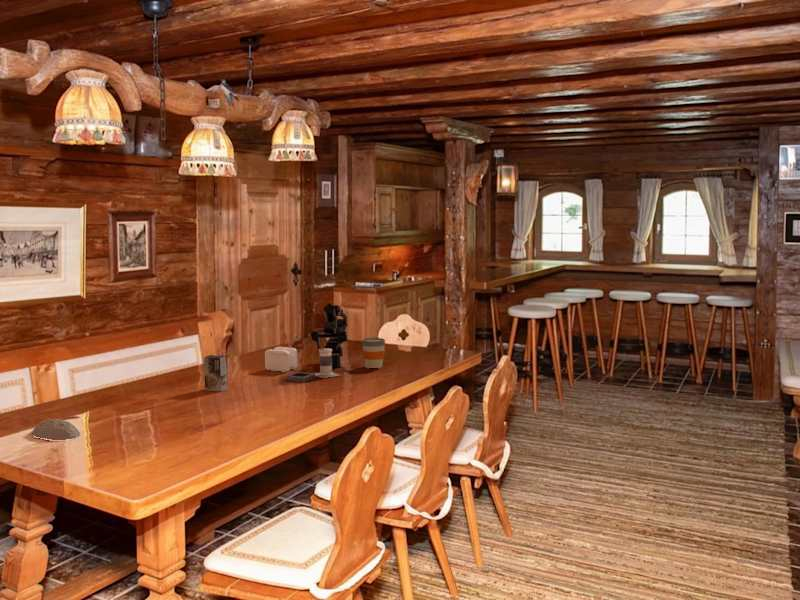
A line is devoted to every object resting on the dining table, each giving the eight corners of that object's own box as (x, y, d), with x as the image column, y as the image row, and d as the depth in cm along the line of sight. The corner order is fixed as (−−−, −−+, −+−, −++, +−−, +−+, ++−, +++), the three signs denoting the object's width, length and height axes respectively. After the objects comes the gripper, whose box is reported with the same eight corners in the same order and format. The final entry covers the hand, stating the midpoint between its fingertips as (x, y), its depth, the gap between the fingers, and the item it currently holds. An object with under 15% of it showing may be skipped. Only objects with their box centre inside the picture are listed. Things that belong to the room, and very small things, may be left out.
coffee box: (228, 389, 370) (227, 355, 368) (221, 391, 364) (220, 357, 362) (211, 387, 373) (210, 354, 371) (204, 390, 367) (203, 356, 365)
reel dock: (297, 376, 397) (297, 372, 397) (315, 378, 393) (315, 373, 393) (286, 380, 388) (286, 375, 387) (304, 382, 383) (304, 377, 383)
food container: (59, 423, 308) (57, 407, 307) (92, 438, 293) (90, 421, 291) (20, 436, 297) (17, 419, 295) (52, 452, 281) (50, 434, 280)
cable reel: (326, 372, 404) (325, 347, 403) (335, 374, 400) (334, 349, 399) (316, 374, 399) (316, 349, 398) (326, 376, 395) (325, 351, 394)
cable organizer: (299, 369, 416) (298, 348, 415) (287, 373, 406) (287, 351, 405) (275, 367, 422) (275, 346, 421) (264, 371, 413) (263, 349, 412)
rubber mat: (330, 372, 407) (330, 371, 407) (340, 376, 398) (340, 375, 398) (311, 375, 401) (311, 373, 401) (321, 378, 392) (321, 377, 392)
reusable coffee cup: (358, 368, 418) (358, 340, 417) (368, 364, 430) (367, 337, 428) (379, 370, 414) (379, 342, 412) (389, 365, 425) (388, 338, 424)
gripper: (311, 315, 407) (306, 339, 397) (346, 315, 405) (343, 340, 396) (314, 328, 416) (310, 352, 406) (349, 328, 414) (345, 352, 404)
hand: (327, 349), depth 403 cm, fingers open, 9 cm apart
